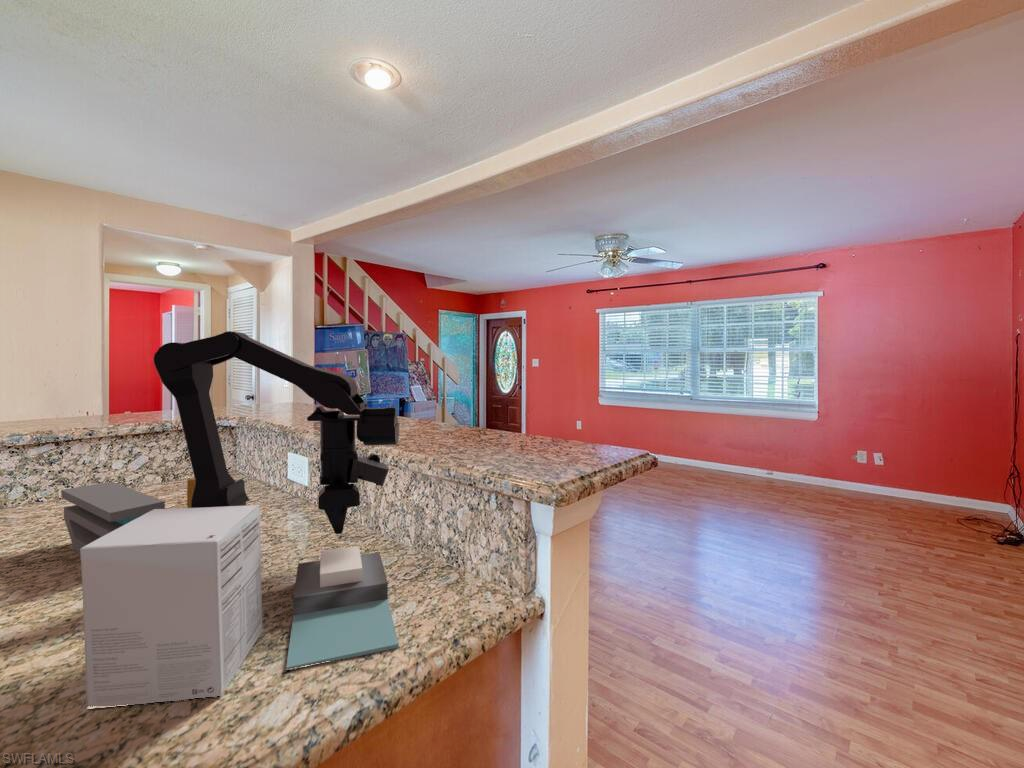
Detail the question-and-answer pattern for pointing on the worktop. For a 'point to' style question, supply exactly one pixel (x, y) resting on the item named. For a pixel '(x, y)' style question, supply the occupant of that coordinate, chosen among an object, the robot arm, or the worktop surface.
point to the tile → (340, 566)
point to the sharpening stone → (103, 510)
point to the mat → (341, 633)
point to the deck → (339, 587)
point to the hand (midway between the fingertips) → (338, 533)
